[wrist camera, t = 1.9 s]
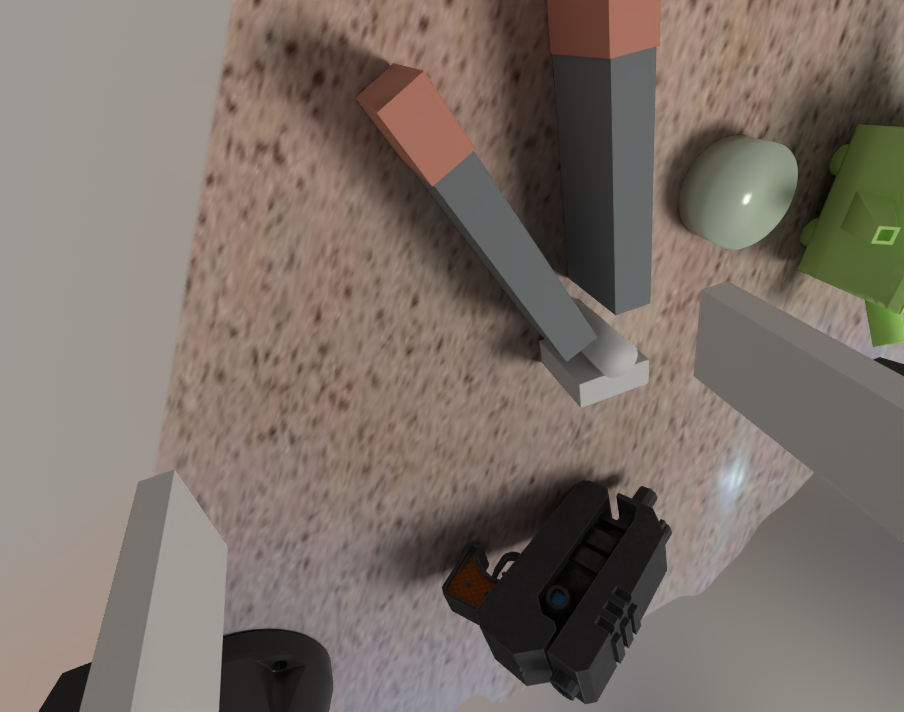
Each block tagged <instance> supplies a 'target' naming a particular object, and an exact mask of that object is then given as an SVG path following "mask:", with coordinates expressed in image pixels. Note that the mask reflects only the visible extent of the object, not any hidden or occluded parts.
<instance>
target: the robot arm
mask: <svg viewBox="0 0 904 712" xmlns="http://www.w3.org/2000/svg"><path fill="white" fill-rule="evenodd" d="M694 377H696V378H697V379H698V380H699V381H701V382H702V383H703V384H704V385H706V386H707V387H708V388H709V389H711V390H712V391H713V392H714V393H716V394H717V395H718V396H719V397H721V398H722V399H723V400H724V401H726V402H727V403H728V404H729V405H731V406H732V407H733V408H734V409H736V410H737V411H738V412H740V413H741V414H742V415H743V416H745V417H746V418H747V419H748V420H750V421H751V422H752V423H753V424H755V425H756V426H757V427H758V428H760V429H761V430H762V431H763V432H765V433H766V434H767V435H768V436H770V437H771V438H772V439H773V440H775V441H776V442H777V443H778V444H780V445H781V446H782V447H783V448H785V449H786V450H787V451H788V452H790V453H791V454H792V455H793V456H795V457H796V458H797V459H798V460H800V461H801V462H802V463H803V464H805V465H806V466H807V467H808V468H810V469H811V470H812V471H813V472H815V473H816V474H817V475H818V476H820V477H821V478H822V479H823V480H825V481H826V482H827V483H829V484H830V485H831V486H832V487H833V488H835V489H836V490H837V491H838V492H840V493H841V494H842V495H844V496H845V497H846V498H847V499H849V500H850V501H851V502H852V503H854V504H855V505H856V506H857V507H859V508H860V509H861V510H862V511H864V512H865V513H866V514H867V515H869V516H870V517H871V518H872V519H874V520H875V521H876V522H877V523H879V524H880V525H881V526H882V527H884V528H885V529H886V530H888V531H889V532H890V533H891V534H892V535H894V536H895V537H896V538H897V539H899V540H900V541H901V542H902V543H904V364H901V363H898V362H894V361H891V360H888V359H884V358H881V357H879V358H876V359H874V360H872V359H871V358H869V357H867V356H865V355H863V354H861V353H859V352H858V351H856V350H854V349H852V348H850V347H848V346H847V345H845V344H843V343H841V342H839V341H837V340H835V339H834V338H832V337H830V336H828V335H826V334H824V333H822V332H821V331H819V330H817V329H815V328H813V327H811V326H809V325H808V324H806V323H804V322H802V321H800V320H798V319H797V318H795V317H793V316H791V315H789V314H787V313H785V312H784V311H782V310H780V309H778V308H776V307H774V306H772V305H771V304H769V303H767V302H765V301H763V300H761V299H760V298H758V297H756V296H754V295H752V294H750V293H748V292H747V291H745V290H743V289H741V288H739V287H737V286H735V285H734V284H732V283H730V282H728V281H726V282H724V283H721V284H718V285H715V286H712V287H709V288H706V289H703V290H701V300H700V311H699V321H698V332H697V343H696V354H695V365H694ZM227 550H228V547H227V545H226V544H225V542H224V541H223V540H222V538H221V537H220V535H219V534H218V532H217V531H216V529H215V528H214V526H213V525H212V523H211V522H210V521H209V519H208V518H207V516H206V515H205V513H204V512H203V510H202V509H201V507H200V506H199V504H198V503H197V502H196V500H195V499H194V497H193V496H192V494H191V493H190V491H189V490H188V488H187V487H186V485H185V484H184V483H183V481H182V480H181V478H180V477H179V475H178V474H177V472H176V471H175V470H172V471H169V472H166V473H163V474H160V475H157V476H154V477H152V478H149V479H146V480H143V481H140V482H138V485H137V490H136V493H135V497H134V501H133V505H132V509H131V513H130V516H129V520H128V525H127V528H126V532H125V536H124V540H123V544H122V548H121V551H120V556H119V559H118V563H117V567H116V571H115V575H114V579H113V583H112V587H111V590H110V594H109V598H108V602H107V606H106V610H105V614H104V618H103V622H102V626H101V629H100V633H99V637H98V641H97V645H96V649H95V653H94V657H93V660H92V662H91V663H88V664H85V665H83V666H80V667H77V668H75V669H72V670H70V671H67V672H65V673H62V675H61V676H60V678H59V680H58V681H57V683H56V685H55V686H54V687H53V689H52V691H51V692H50V694H49V696H48V697H47V699H46V700H45V702H44V703H43V705H42V707H41V708H40V710H39V712H329V709H330V703H331V698H332V693H333V677H332V668H331V660H330V657H329V654H328V652H327V651H326V649H325V648H324V647H323V646H322V645H321V644H320V643H318V642H317V641H315V640H314V639H312V638H310V637H307V636H305V635H301V634H298V633H293V632H287V631H254V632H247V633H242V634H237V635H232V636H229V637H225V638H223V624H224V606H225V587H226V568H227Z"/></svg>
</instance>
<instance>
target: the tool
mask: <svg viewBox="0 0 904 712" xmlns="http://www.w3.org/2000/svg"><path fill="white" fill-rule="evenodd" d="M616 497H617V504H618V511H619V519H618V520H615V519H613V518H612V513H611V507H610V501H609V494H608V488H606V487H604V486H601V485H598V484H596V483H593V482H590V481H585V482H580V483H577V484H576V485H575V487H574V488H573V489H572V490H571V492H570V493H569V494H568V495H567V497H566V498H565V499H564V500H563V502H562V503H561V504H560V505H559V507H558V508H557V509H556V510H555V512H554V513H553V514H552V515H551V517H550V518H549V519H548V520H547V522H546V523H545V524H544V525H543V527H542V528H541V529H540V530H539V532H538V533H537V534H536V535H535V537H534V538H533V539H532V540H531V542H530V543H529V544H528V545H527V547H526V548H525V549H524V550H523V552H522V553H521V554H520V553H518V552H509V553H506V554H505V555H503V556H502V558H501V559H500V561H499V562H498V564H497V565H496V567H495V569H494V572H493V575H492V576H491V575H490V574H488V573H487V572H486V570H487V568H488V566H489V562H488V560H487V557H486V555H485V552H484V550H483V548H482V547H481V546H479V545H477V544H476V543H474V542H470V543H469V544H468V545H467V547H466V549H465V550H464V552H463V554H462V555H461V557H460V558H459V560H458V562H457V563H456V565H455V567H454V568H453V570H452V571H451V573H450V575H449V576H448V578H447V580H446V581H445V583H444V584H443V586H442V590H443V595H444V596H445V598H446V600H447V602H448V604H449V606H450V608H451V610H452V611H453V612H455V613H457V614H459V615H461V616H463V617H465V618H466V619H468V620H470V621H472V622H474V623H476V624H478V625H480V628H481V630H482V633H483V635H484V637H485V639H486V641H487V643H488V645H489V647H490V649H491V651H492V653H493V655H494V658H495V659H496V660H497V661H498V662H499V663H501V664H502V665H503V666H504V667H505V668H506V669H508V670H509V671H510V672H511V673H512V674H513V675H515V676H516V677H517V678H518V679H519V680H520V681H522V682H523V683H524V684H525V685H526V686H530V685H536V684H541V683H548V682H550V683H551V684H552V685H553V687H554V688H555V689H556V690H557V691H558V692H559V693H561V694H562V695H563V696H564V697H566V698H568V699H569V700H572V701H573V700H574V698H575V697H576V698H578V699H579V700H581V701H582V702H583V703H584V704H588V703H594V702H597V701H598V699H599V697H600V695H601V694H602V692H603V690H604V689H605V687H606V685H607V683H608V681H609V680H610V678H611V676H612V674H613V672H614V671H615V669H616V667H617V665H616V662H618V663H621V662H622V660H623V658H624V656H625V650H624V647H625V646H626V647H628V648H629V647H630V645H631V643H632V641H633V633H635V634H637V632H638V631H639V629H640V627H641V622H640V621H641V619H642V617H643V615H644V613H645V612H646V610H647V608H648V606H649V604H650V602H651V600H652V598H653V596H654V594H655V592H656V590H657V588H658V587H659V585H660V583H661V581H662V579H663V577H664V575H665V573H666V571H667V562H666V547H665V544H666V543H667V541H668V539H669V538H670V536H671V534H672V531H671V528H670V526H669V525H667V524H666V522H665V521H664V520H662V519H661V520H660V521H658V518H657V516H656V514H655V512H654V510H653V508H652V507H653V505H654V504H655V502H656V500H657V498H658V497H657V495H656V493H655V492H654V491H653V490H651V489H650V488H646V487H643V486H641V487H640V488H639V489H638V490H637V492H636V493H635V495H634V496H633V498H632V499H631V498H629V497H627V496H625V495H622V494H620V493H618V494H617V496H616ZM508 561H515V562H514V563H513V564H512V565H511V567H510V568H509V569H508V570H507V572H506V573H505V572H502V576H503V577H502V578H501V579H500V580H499V579H497V577H498V574H499V573H500V571H501V570H502V569H503V567H504V566H505V565H506V563H507V562H508Z"/></svg>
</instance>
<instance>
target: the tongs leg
mask: <svg viewBox="0 0 904 712" xmlns="http://www.w3.org/2000/svg"><path fill="white" fill-rule="evenodd" d="M355 99H356V100H357V101H358V103H359V104H360V105H361V107H362V108H363V109H364V111H365V112H366V113H367V114H368V116H369V117H370V118H371V120H372V121H373V122H374V124H375V125H376V126H377V128H378V129H379V130H380V131H381V133H382V134H383V135H384V137H385V138H386V139H387V141H388V142H389V143H390V144H391V146H392V147H393V148H394V150H395V151H396V152H397V154H398V155H399V156H400V158H401V159H402V160H403V161H404V162H405V163H406V164H407V165H408V166H410V168H411V169H412V170H413V172H414V173H415V174H416V175H417V177H418V178H419V179H420V181H421V182H422V183H423V185H424V186H425V187H426V189H427V190H428V191H429V192H430V194H431V195H432V196H433V198H434V199H435V200H436V202H437V203H438V204H439V206H440V207H441V208H442V210H443V211H444V212H445V213H446V215H447V216H448V217H449V219H450V220H451V221H452V223H453V224H454V225H455V227H456V228H457V229H458V230H459V232H460V233H461V234H462V236H463V237H464V238H465V240H466V241H467V242H468V244H469V245H470V246H471V247H472V249H473V250H474V251H475V253H476V254H477V255H478V257H479V258H480V259H481V261H482V262H483V263H484V264H485V266H486V267H487V268H488V270H489V271H490V272H491V274H492V275H493V276H494V278H495V279H496V280H497V282H498V283H499V284H500V285H501V287H502V288H503V289H504V291H505V292H506V293H507V295H508V296H509V297H510V299H511V300H512V301H513V302H514V304H515V305H516V306H517V308H518V309H519V310H520V312H521V313H522V314H523V316H524V317H525V318H526V319H527V320H528V322H529V323H530V324H531V325H532V326H533V327H534V328H535V329H536V330H537V331H538V332H539V333H540V334H541V335H542V336H543V338H544V339H545V340H546V341H547V342H548V343H549V344H550V345H551V346H552V347H553V348H554V349H555V350H556V351H557V352H558V354H559V355H560V356H561V357H562V358H563V359H564V360H565V361H566V362H567V361H569V360H570V359H571V358H572V357H574V356H575V355H576V354H577V353H579V352H580V351H581V350H582V349H584V348H585V347H586V346H587V345H589V344H590V343H591V342H592V341H594V340H595V339H596V338H597V336H596V334H595V333H594V331H593V330H592V328H591V327H590V325H589V324H588V322H587V321H586V319H585V318H584V316H583V314H582V313H581V311H580V310H579V308H578V307H577V305H576V304H575V302H574V301H573V299H572V298H571V296H570V295H569V293H568V292H567V290H566V289H565V287H564V286H563V284H562V283H561V281H560V280H559V278H558V277H557V275H556V274H555V272H554V271H553V269H552V268H551V266H550V265H549V263H548V262H547V260H546V259H545V257H544V256H543V254H542V253H541V251H540V250H539V248H538V247H537V245H536V244H535V242H534V241H533V239H532V238H531V236H530V235H529V233H528V232H527V230H526V229H525V227H524V226H523V224H522V223H521V221H520V220H519V218H518V217H517V215H516V214H515V212H514V211H513V209H512V208H511V206H510V205H509V203H508V202H507V200H506V199H505V197H504V196H503V194H502V193H501V191H500V190H499V188H498V187H497V185H496V184H495V182H494V181H493V179H492V178H491V176H490V175H489V173H488V172H487V170H486V169H485V167H484V166H483V164H482V163H481V161H480V160H479V158H478V157H477V155H476V154H475V152H474V150H475V147H474V146H473V144H472V143H471V141H470V140H469V138H468V137H467V135H466V134H465V132H464V131H463V129H462V128H461V126H460V125H459V123H458V122H457V120H456V119H455V117H454V116H453V114H452V113H451V111H450V109H449V108H448V106H447V105H446V103H445V102H444V100H443V99H442V97H441V96H440V94H439V93H438V91H437V90H436V88H435V87H434V85H433V84H432V82H431V81H430V79H429V78H428V76H427V75H426V73H425V72H424V71H423V70H418V69H414V68H410V67H406V66H402V65H398V64H394V63H393V64H392V65H391V66H390V67H389V68H387V69H386V70H385V71H384V72H383V73H382V74H381V75H380V76H379V77H377V78H376V79H375V80H374V81H373V82H372V83H371V84H370V85H369V86H368V87H366V88H365V89H364V90H363V91H362V92H361V93H360V94H359V95H358V96H356V97H355Z"/></svg>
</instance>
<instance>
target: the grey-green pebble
mask: <svg viewBox="0 0 904 712" xmlns="http://www.w3.org/2000/svg"><path fill="white" fill-rule="evenodd" d="M797 180H798V168H797V163H796V159H795V157H794V155H793V153H792V152H791V151H790V150H789V149H788V148H787V147H786V146H784V145H782V144H779V143H776V142H771V141H766V140H762V139H757V138H753V137H748V136H743V135H732V136H727V137H725V138H722V139H720V140H718V141H716V142H714V143H713V144H711V145H710V146H709V147H708V148H706V149H705V150H704V151H703V152H702V153H701V154H700V155H699V156H698V157H697V159H696V160H695V161H694V162H693V164H692V165H691V167H690V169H689V170H688V172H687V174H686V176H685V178H684V181H683V184H682V187H681V190H680V195H679V214H680V217H681V220H682V222H683V224H684V226H685V227H686V228H687V229H688V230H689V231H690V232H691V233H693V234H695V235H697V236H699V237H701V238H704V239H706V240H708V241H710V242H712V243H714V244H716V245H719V246H721V247H723V248H726V249H742V248H745V247H748V246H750V245H753V244H755V243H756V242H758V241H760V240H761V239H763V238H764V237H765V236H766V235H767V234H769V233H770V232H771V231H772V230H773V229H774V228H775V227H776V225H777V224H778V223H779V222H780V220H781V219H782V218H783V216H784V215H785V213H786V212H787V210H788V208H789V206H790V204H791V202H792V199H793V197H794V194H795V191H796V186H797Z"/></svg>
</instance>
